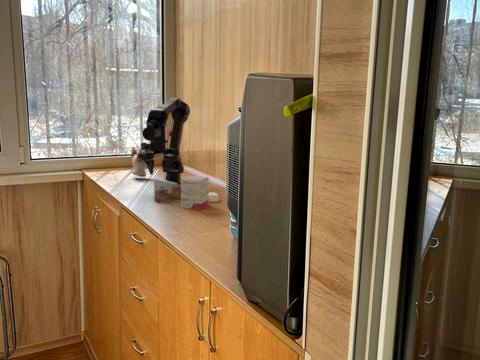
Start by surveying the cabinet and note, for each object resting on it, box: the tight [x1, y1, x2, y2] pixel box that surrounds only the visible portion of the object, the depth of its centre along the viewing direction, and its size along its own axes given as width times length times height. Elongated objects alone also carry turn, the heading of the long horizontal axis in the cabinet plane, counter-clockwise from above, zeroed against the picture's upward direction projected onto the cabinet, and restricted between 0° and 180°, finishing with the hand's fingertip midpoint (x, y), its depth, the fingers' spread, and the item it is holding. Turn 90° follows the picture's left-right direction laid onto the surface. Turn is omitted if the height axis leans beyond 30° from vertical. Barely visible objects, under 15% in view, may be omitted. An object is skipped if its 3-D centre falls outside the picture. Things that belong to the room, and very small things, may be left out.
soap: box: [209, 191, 219, 203], centre depth 202 cm, size 9×6×3 cm, turn 107°
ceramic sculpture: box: [130, 146, 148, 178], centre depth 241 cm, size 11×9×15 cm
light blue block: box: [153, 178, 179, 193], centre depth 213 cm, size 2×13×5 cm, turn 48°
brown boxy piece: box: [154, 184, 181, 204], centre depth 201 cm, size 14×2×5 cm, turn 139°
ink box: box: [180, 175, 210, 210], centre depth 191 cm, size 9×9×12 cm
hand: (159, 172), depth 215 cm, fingers open, 9 cm apart
